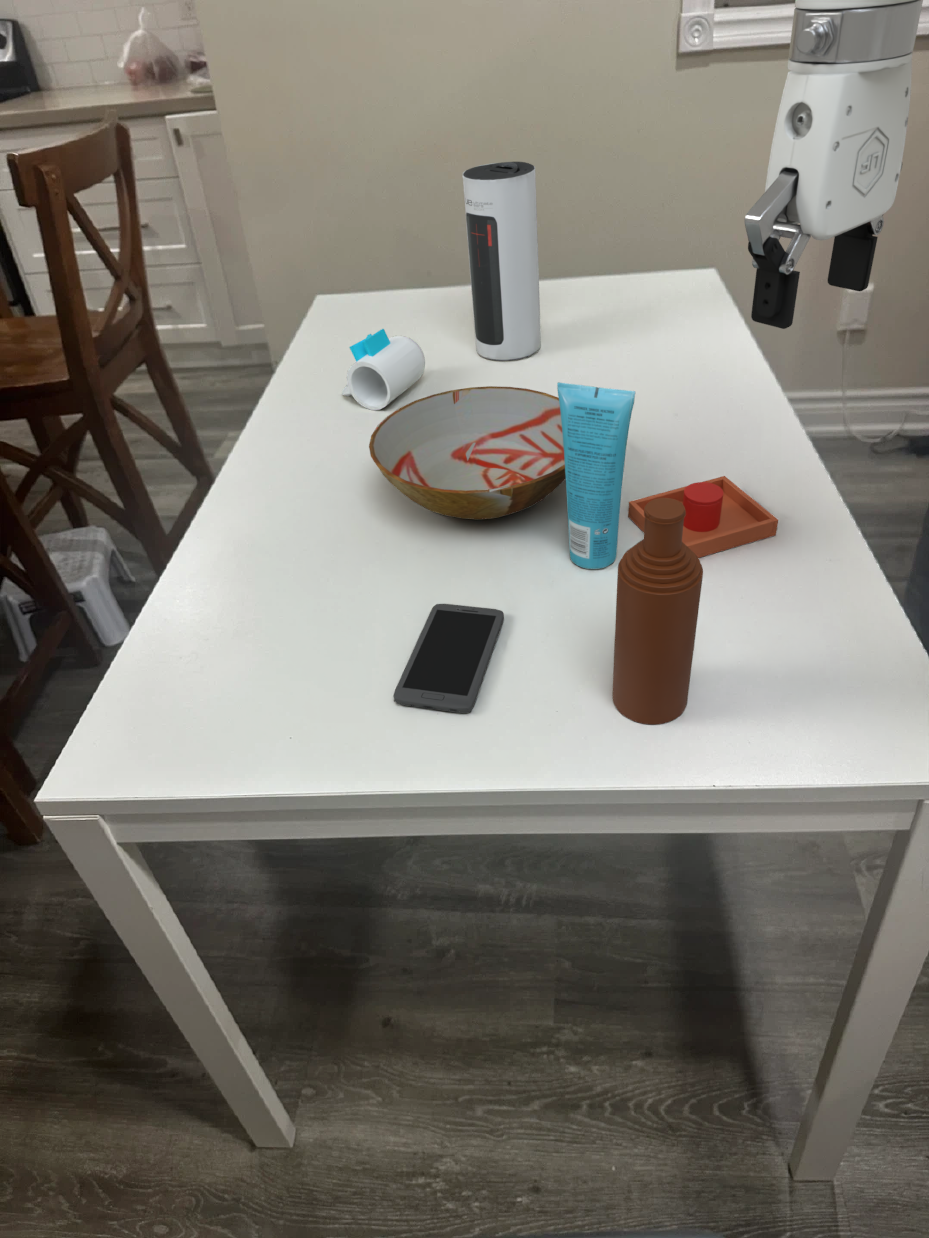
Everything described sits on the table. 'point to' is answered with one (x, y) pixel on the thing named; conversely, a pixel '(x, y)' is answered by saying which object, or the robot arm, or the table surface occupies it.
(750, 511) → the tray
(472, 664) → the cell phone
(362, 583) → the table surface
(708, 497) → the cap
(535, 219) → the speaker
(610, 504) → the tube
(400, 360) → the mug
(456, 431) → the bowl
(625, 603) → the bottle
